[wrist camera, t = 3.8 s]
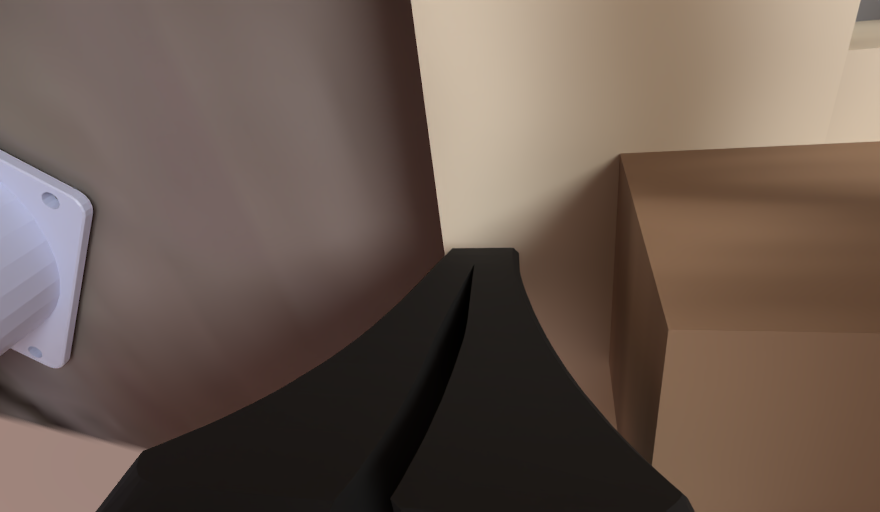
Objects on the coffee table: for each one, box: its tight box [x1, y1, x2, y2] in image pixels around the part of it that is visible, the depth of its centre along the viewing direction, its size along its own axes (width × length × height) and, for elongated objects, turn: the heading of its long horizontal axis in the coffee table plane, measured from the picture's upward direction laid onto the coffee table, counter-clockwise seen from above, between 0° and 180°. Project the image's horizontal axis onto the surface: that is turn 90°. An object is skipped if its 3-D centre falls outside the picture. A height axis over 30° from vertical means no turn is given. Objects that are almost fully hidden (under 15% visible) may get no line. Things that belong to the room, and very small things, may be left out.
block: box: [609, 141, 880, 512], centre depth 8 cm, size 5×5×5 cm
